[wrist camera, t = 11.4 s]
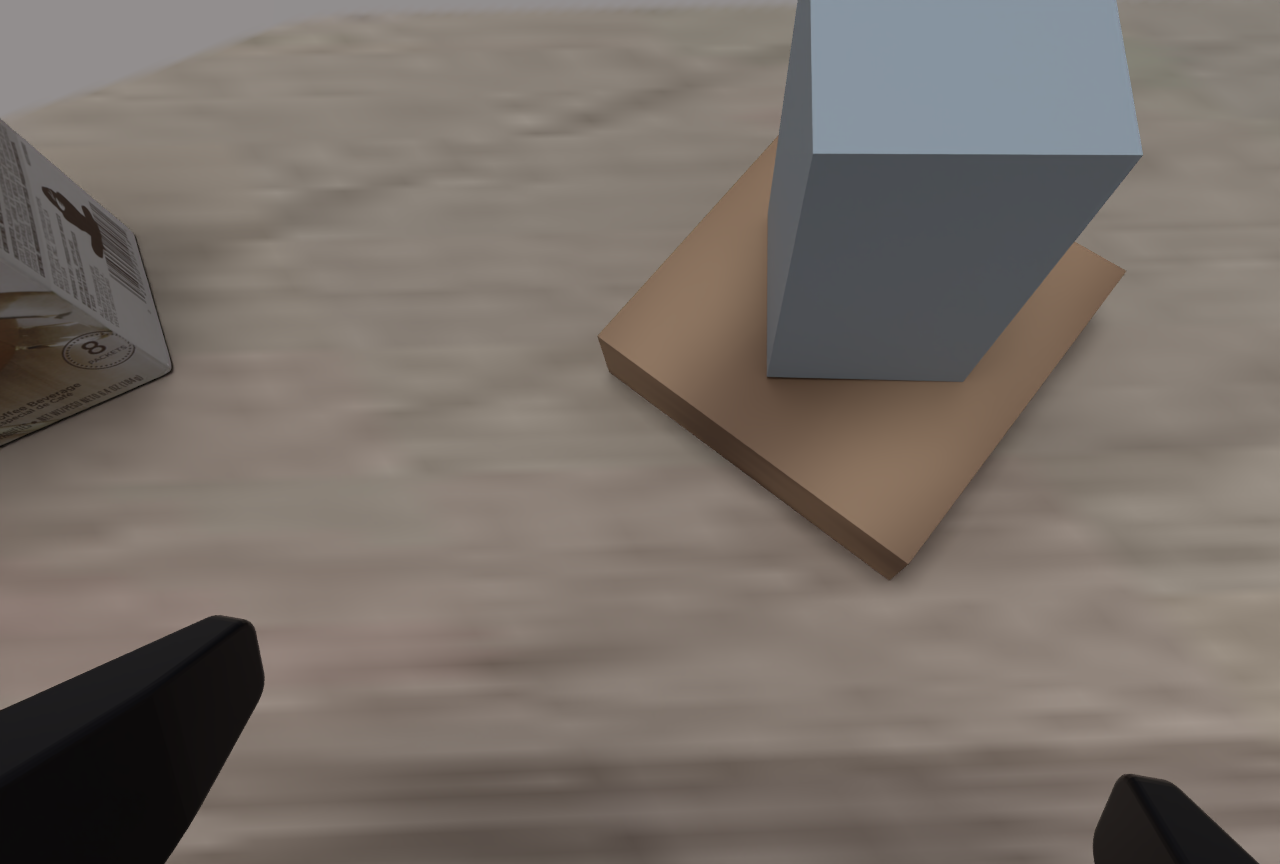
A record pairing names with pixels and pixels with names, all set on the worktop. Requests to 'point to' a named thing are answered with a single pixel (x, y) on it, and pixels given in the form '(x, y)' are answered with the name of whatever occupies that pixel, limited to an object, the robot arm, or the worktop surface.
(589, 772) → the worktop surface
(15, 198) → the coffee box
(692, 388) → the walnut block
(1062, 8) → the slate block
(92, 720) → the robot arm
